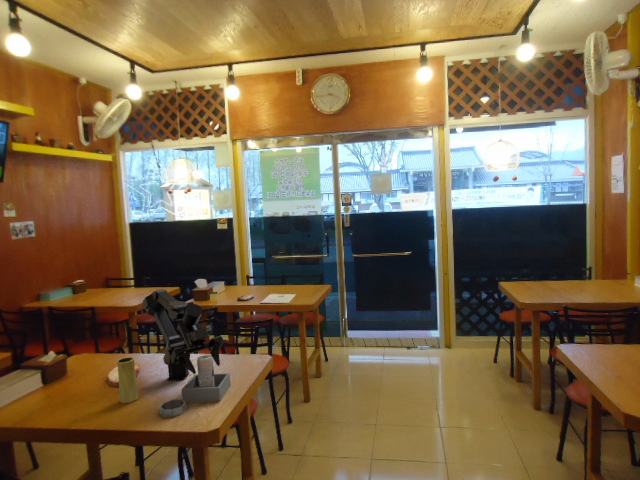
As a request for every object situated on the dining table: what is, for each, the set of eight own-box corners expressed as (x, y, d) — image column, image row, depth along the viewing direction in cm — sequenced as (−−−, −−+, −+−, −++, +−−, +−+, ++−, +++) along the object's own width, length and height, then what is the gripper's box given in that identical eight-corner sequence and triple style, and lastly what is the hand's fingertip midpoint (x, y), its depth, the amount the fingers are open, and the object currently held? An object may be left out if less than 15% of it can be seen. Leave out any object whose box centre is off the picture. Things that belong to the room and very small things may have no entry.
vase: (120, 405, 145) (116, 364, 144) (119, 398, 151) (115, 359, 150) (139, 400, 148) (135, 360, 147) (137, 394, 154) (134, 355, 153)
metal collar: (156, 417, 135) (155, 410, 135) (166, 406, 142) (166, 399, 142) (180, 416, 134) (179, 410, 134) (189, 405, 142) (188, 399, 142)
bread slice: (123, 389, 160) (122, 379, 160) (91, 383, 168) (90, 374, 168) (160, 371, 176) (159, 362, 176) (129, 367, 184) (128, 358, 184)
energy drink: (215, 387, 154) (213, 354, 153) (214, 393, 149) (211, 359, 148) (200, 388, 153) (198, 355, 152) (198, 394, 148) (195, 360, 147)
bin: (182, 402, 145) (181, 389, 144) (196, 386, 158) (195, 374, 157) (220, 401, 144) (219, 388, 143) (230, 385, 157) (229, 373, 156)
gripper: (170, 325, 145) (188, 364, 138) (219, 314, 158) (238, 349, 151) (163, 344, 152) (179, 382, 144) (210, 331, 164) (227, 366, 157)
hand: (207, 369), depth 149 cm, fingers open, 9 cm apart
